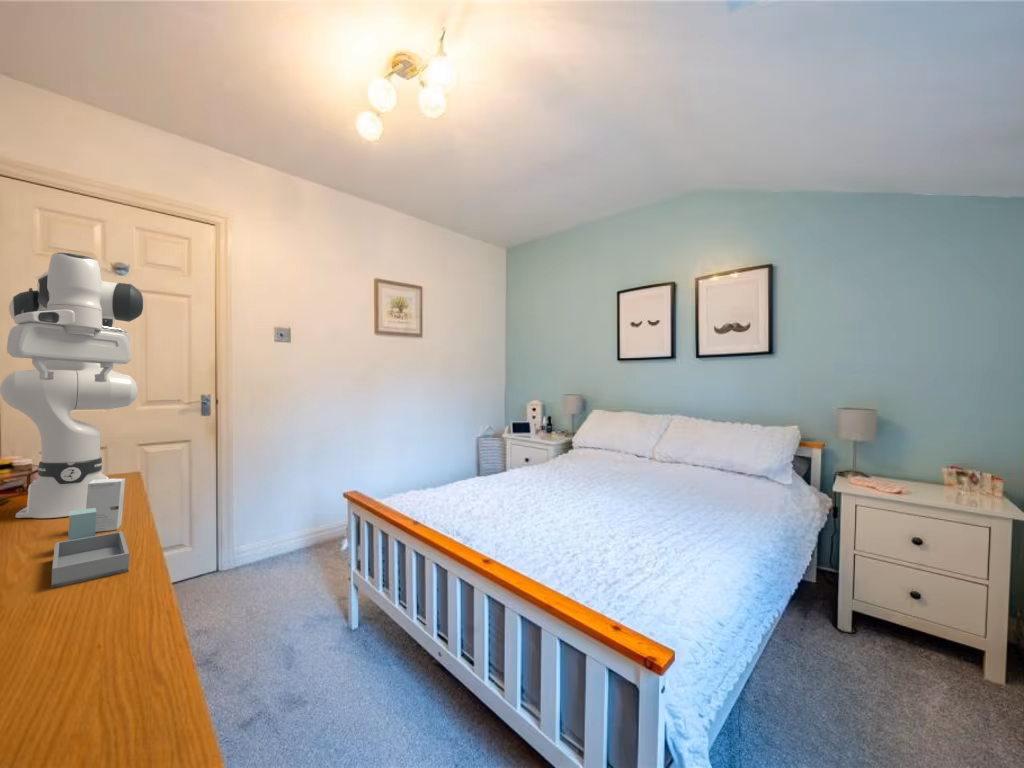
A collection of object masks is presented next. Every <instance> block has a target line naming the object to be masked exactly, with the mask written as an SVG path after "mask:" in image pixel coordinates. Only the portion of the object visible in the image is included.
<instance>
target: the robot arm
mask: <svg viewBox="0 0 1024 768" xmlns="http://www.w3.org/2000/svg"><path fill="white" fill-rule="evenodd" d="M100 267H101V266H100V264H99V261H98V260H97V259H95V258H93V257H90V256H85V255H81V254H75V253H70V252H56V253H55V252H54V253H52V254H51V257H50V260H49V265H48V269H47V271H46V272H44V273H43V274H42V275H40V276H39V278H38V279H37V284H36V285H37V290H33V287H31V288H28V290H27V291H23V292H19V293H18V294H16V295H14V296H13V297H12V299H11V301H10V303H9V305H8V312H9V315H10V317H11V318H12V319H13V320H14V323H15V325H14V326H13V327H12V328H11V329H10V330H9V333H8V337H7V344H6V353H8V354H9V356H10V357H12V358H16V359H17V358H18V359H20V358H21V359H31V360H32V361H31V363H32V365H33V366H34V368H35V369H26V370H16V371H15V370H14V371H13V372H11V373H9V374H8V375H6V377H5V378H4V379H3V380H2V382H0V383H1V384H0V396H1V398H2V400H3V401H4V402H5V403H6V405H8V406H9V407H11V408H13V409H16V410H18V411H19V412H21V413H23V414H24V415H26V416H27V417H28V418H29V419H30V420H31V421H32V422H33V423H34V424H35V426H36V427H37V429H38V432H39V435H40V443H41V444H40V445H41V459H40V461H39V462H38V465H37V475H38V477H37V479H35V480H34V481H33V482H31V483H30V484H29V485H28V488H27V500H26V503H27V504H26V506H25V507H23V508H22V509H21V510H19V511H17V512H16V513H15V518H17V519H20V518H21V519H22V518H23V519H24V518H32V519H52V518H53V519H55V518H64V517H69V511H75V510H82V509H86V503H87V492H88V483H90V482H91V481H92V480H97V479H109V477H108V476H107V475H106V474H104V473H103V472H101V471H102V467H103V458H102V457H101V445H102V444H101V441H102V432H101V431H100V430H99V428H97V426H94V425H92V424H90V423H87V422H84V421H80V420H77V419H75V418H73V417H72V416H71V414H70V412H71V411H79V410H80V411H85V410H87V411H89V410H110V409H111V410H112V409H118V408H124V407H125V408H126V407H129V406H130V405H131V404H132V403H133V402H135V400H136V398H137V397H138V393H139V387H138V384H137V382H136V380H135V379H134V378H133V377H132V376H130V375H128V374H124V373H122V372H121V373H120V372H119V371H115V370H113V368H114V365H121V366H122V365H127V364H129V363H130V362H131V361H132V354H131V347H130V334H129V333H128V332H127V331H126V330H124V329H123V328H120V327H113V325H114V323H115V320H116V321H121V322H122V321H123V322H128V323H130V322H132V321H134V320H136V319H137V318H140V316H141V315H142V313H143V311H144V305H145V304H144V303H145V302H144V297H143V293H142V292H141V291H140V290H139V288H137V287H136V286H134V285H133V284H131V283H124V282H114V281H113V282H112V281H106V280H103V279H102V272H101V268H100Z"/></svg>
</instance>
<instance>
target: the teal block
mask: <svg viewBox="0 0 1024 768" xmlns="http://www.w3.org/2000/svg"><path fill="white" fill-rule="evenodd" d="M95 526H96V508H90V509H82V510H75V511H69V516H68V534H67V541H68V540H74V539H80V538H86V537H92V536H96V532H95Z"/></svg>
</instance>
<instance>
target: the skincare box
mask: <svg viewBox="0 0 1024 768" xmlns="http://www.w3.org/2000/svg"><path fill="white" fill-rule="evenodd" d="M125 483H126V478H125V477H121V478H108V479H97V480H92V481H91V482H90V483H88V492H87V503H86V509H90V508H96V526H95V533H99V532H108V531H115V530H118V529H119V528H121V527H120V526H121V525H122V523H123V522H122V520H123V510H124V509H123V507H124V494H125V486H126V484H125Z"/></svg>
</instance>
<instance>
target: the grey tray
mask: <svg viewBox="0 0 1024 768" xmlns="http://www.w3.org/2000/svg"><path fill="white" fill-rule="evenodd" d="M53 549H54V550H53V559H52V568H51V586H50V589H55V588H59V587H64V586H68V585H73V584H77V583H81V582H82V583H83V582H86V581H91V580H96V579H99V578H104V577H108V576H113V575H117V574H121V573H125V572H126V573H127V572H129V563H130V562H129V561H130V552H129V549H128V544H127V542H126V539H125V534H124V531H122V530H121V531H117V532H116V531H115V532H111V533H104V534H99V535H95V536H92V537H86V538H80V539H74V540H68V539H67V540H64V541H62V540H61V541H58V542H57V541H56V542H54V548H53Z"/></svg>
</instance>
